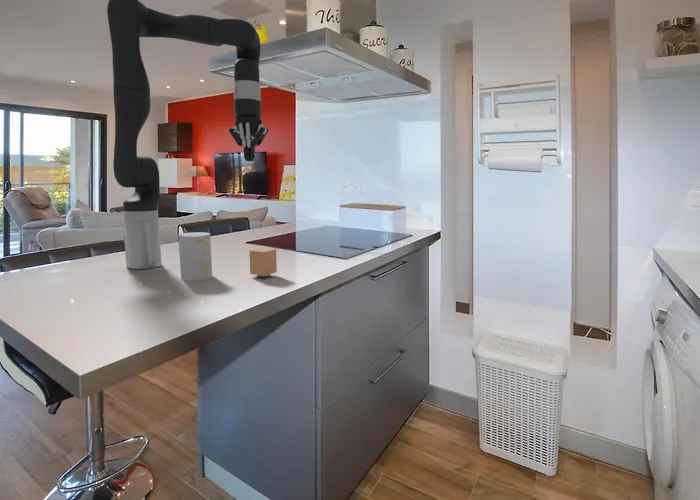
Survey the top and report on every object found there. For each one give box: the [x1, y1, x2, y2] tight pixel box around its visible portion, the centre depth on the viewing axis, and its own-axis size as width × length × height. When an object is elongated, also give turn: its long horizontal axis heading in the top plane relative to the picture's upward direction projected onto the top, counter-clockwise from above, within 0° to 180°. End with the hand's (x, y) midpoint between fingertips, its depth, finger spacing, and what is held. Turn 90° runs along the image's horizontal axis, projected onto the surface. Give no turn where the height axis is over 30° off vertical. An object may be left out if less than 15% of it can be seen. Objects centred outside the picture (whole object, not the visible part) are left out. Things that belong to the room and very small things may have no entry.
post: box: [256, 274, 271, 279], centre depth 118 cm, size 3×3×7 cm
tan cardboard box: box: [249, 247, 278, 276], centre depth 118 cm, size 5×5×7 cm
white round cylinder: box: [177, 231, 213, 282], centre depth 116 cm, size 8×8×12 cm
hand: (249, 161), depth 124 cm, fingers closed
